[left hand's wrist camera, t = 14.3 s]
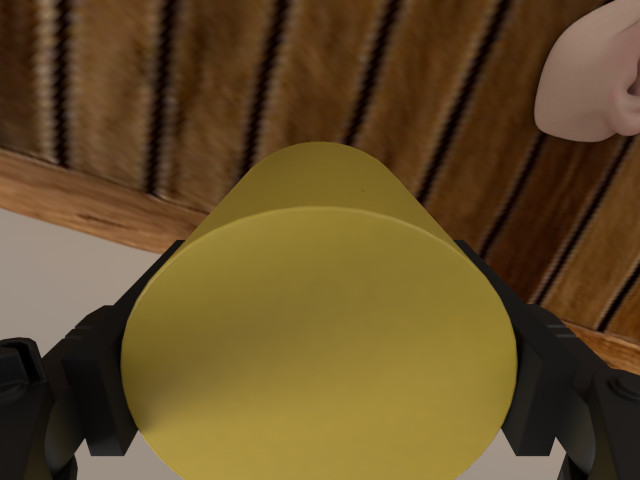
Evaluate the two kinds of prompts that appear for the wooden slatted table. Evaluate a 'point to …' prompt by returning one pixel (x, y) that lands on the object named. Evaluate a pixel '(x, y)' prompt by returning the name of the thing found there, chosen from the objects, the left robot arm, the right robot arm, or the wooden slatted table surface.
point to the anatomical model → (593, 77)
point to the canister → (319, 334)
